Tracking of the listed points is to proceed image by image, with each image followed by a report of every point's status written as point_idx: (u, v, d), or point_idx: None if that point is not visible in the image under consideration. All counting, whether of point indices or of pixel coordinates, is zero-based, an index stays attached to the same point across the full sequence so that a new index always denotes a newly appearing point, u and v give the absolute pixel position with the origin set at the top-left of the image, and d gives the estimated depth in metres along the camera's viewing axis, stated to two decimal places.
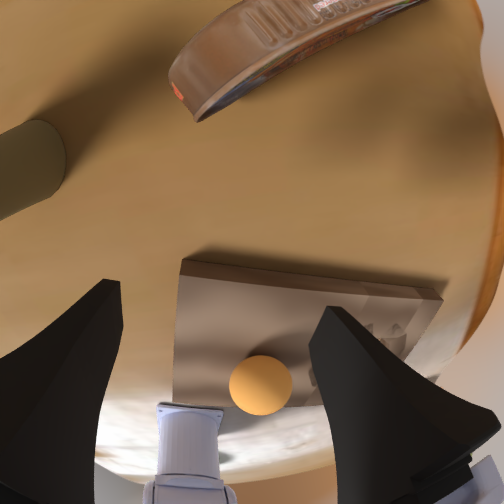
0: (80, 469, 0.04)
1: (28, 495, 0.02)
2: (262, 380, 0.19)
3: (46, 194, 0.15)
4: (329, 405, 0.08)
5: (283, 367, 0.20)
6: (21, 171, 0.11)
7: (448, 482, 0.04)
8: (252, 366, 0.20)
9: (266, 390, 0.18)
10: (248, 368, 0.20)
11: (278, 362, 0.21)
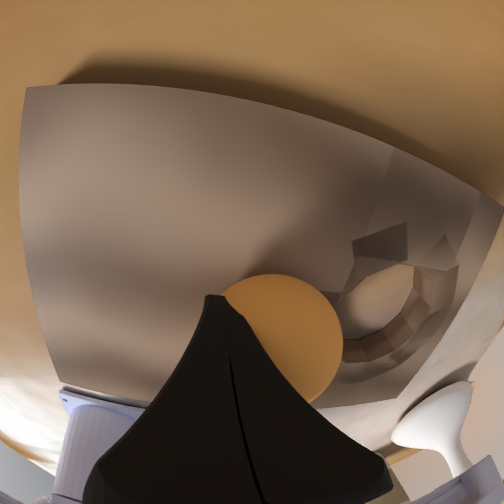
0: None
1: None
2: (315, 300, 0.08)
3: None
4: None
5: (263, 275, 0.10)
6: None
7: None
8: (277, 311, 0.08)
9: (329, 305, 0.09)
10: (281, 321, 0.08)
11: (252, 277, 0.10)
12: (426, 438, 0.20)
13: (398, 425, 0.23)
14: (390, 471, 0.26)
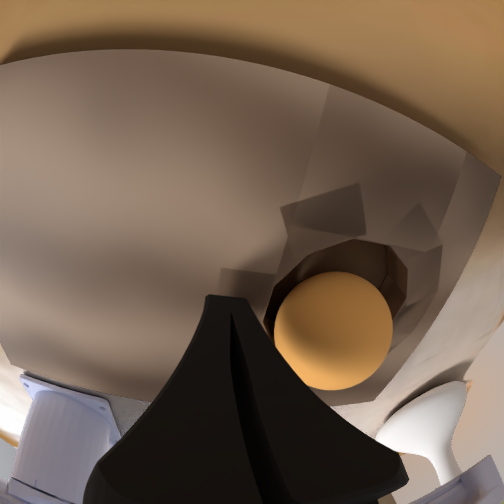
0: None
1: None
2: (348, 282, 0.10)
3: None
4: None
5: (335, 341, 0.09)
6: None
7: None
8: (379, 299, 0.10)
9: (328, 277, 0.10)
10: (380, 296, 0.10)
11: (351, 344, 0.09)
12: (413, 443, 0.19)
13: (382, 427, 0.21)
14: None
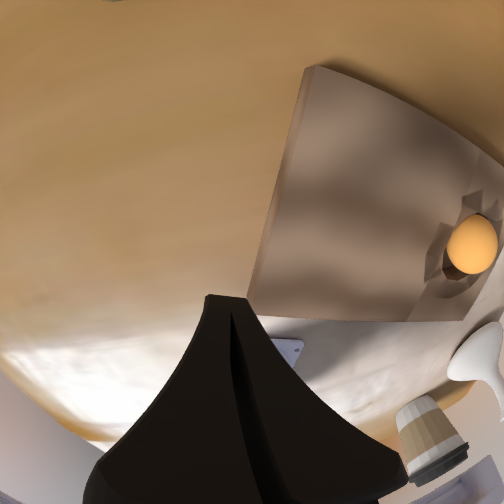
0: None
1: None
2: None
3: None
4: None
5: (480, 223, 0.16)
6: None
7: None
8: None
9: None
10: None
11: (485, 224, 0.16)
12: (475, 366, 0.26)
13: (454, 357, 0.29)
14: (441, 410, 0.33)
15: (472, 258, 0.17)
